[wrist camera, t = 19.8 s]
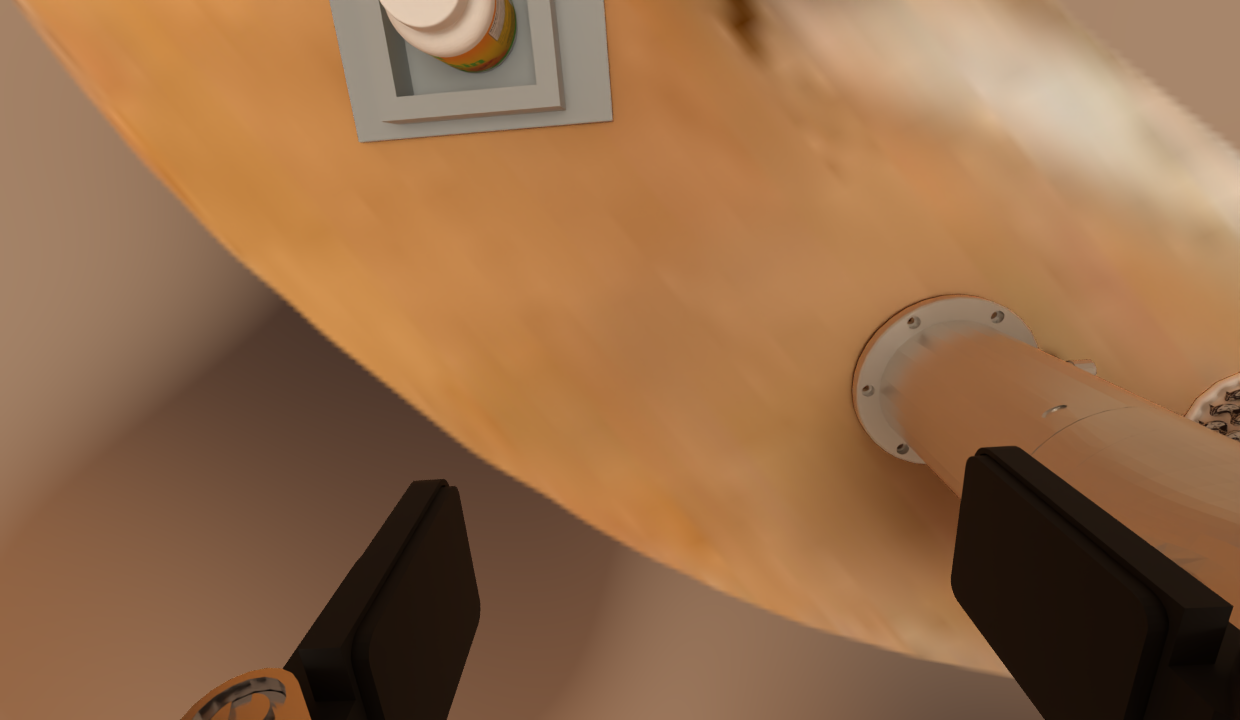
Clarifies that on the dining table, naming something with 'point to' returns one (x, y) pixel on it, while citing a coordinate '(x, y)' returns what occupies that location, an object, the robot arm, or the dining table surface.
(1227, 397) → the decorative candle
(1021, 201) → the dining table surface
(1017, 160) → the dining table surface
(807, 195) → the dining table surface
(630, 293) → the dining table surface
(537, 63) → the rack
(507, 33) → the supplement bottle
